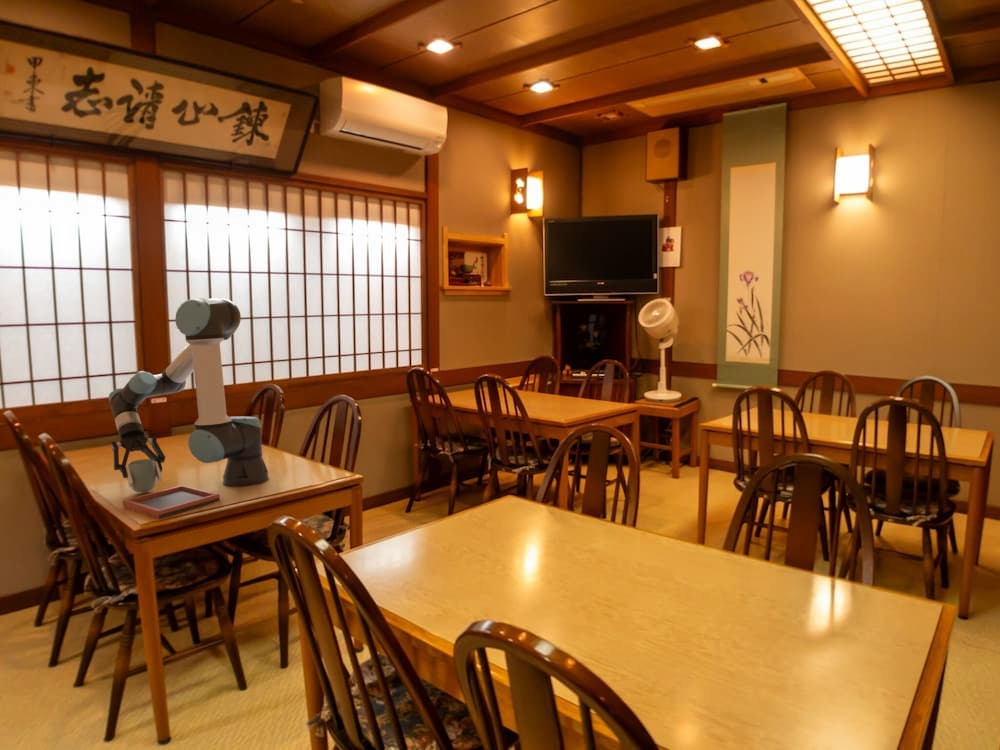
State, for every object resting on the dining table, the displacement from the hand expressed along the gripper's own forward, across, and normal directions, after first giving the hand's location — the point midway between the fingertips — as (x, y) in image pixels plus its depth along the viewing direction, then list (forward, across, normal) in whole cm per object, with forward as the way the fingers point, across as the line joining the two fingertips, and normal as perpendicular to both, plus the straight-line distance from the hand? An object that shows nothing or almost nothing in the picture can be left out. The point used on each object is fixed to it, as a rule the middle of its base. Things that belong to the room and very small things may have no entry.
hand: (145, 482), depth 220 cm
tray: (+15, -3, +8) cm, 17 cm away
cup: (0, 0, -5) cm, 5 cm away
